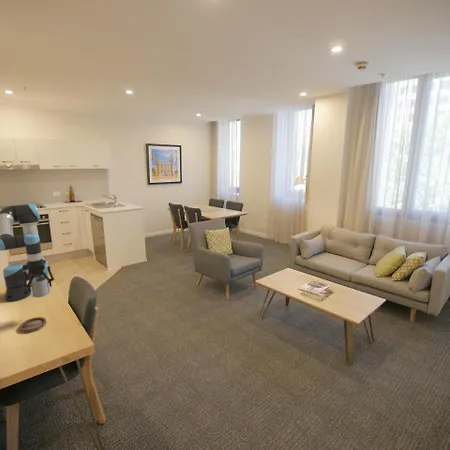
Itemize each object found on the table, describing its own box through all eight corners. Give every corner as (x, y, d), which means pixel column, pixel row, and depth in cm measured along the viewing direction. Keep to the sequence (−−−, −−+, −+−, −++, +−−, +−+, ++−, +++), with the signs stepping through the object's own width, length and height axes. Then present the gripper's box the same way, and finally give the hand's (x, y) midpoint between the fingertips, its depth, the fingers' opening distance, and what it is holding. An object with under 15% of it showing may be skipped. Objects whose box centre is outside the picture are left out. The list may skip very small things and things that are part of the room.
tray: (19, 324, 173) (19, 322, 173) (44, 317, 181) (44, 314, 180) (21, 335, 163) (20, 332, 163) (47, 327, 171) (47, 324, 170)
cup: (41, 298, 173) (39, 282, 171) (29, 296, 175) (27, 281, 172) (52, 291, 181) (49, 276, 179) (40, 290, 183) (38, 275, 180)
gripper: (14, 265, 163) (21, 301, 169) (56, 257, 176) (61, 291, 182) (13, 261, 169) (20, 296, 174) (54, 253, 182) (59, 286, 187)
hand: (41, 293), depth 178 cm, fingers closed on cup, 8 cm apart
